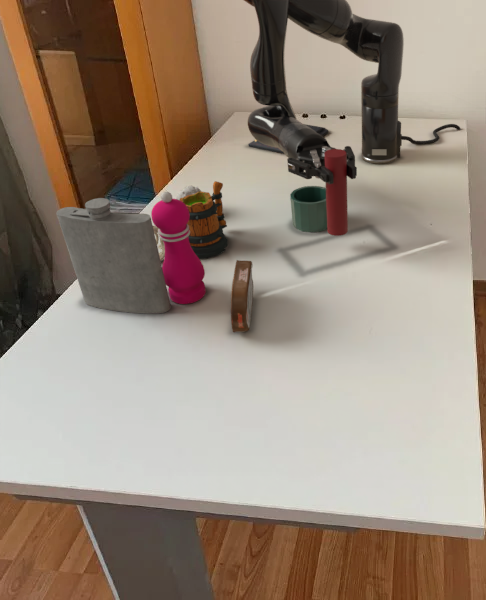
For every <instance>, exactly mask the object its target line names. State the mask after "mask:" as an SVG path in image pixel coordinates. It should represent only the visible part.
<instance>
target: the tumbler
mask: <svg viewBox="0 0 486 600" xmlns="http://www.w3.org/2000/svg"><path fill="white" fill-rule="evenodd" d="M289 197H290V208H291V221H292V226H293V227H294V229H295V230H298V231H299V232H304V233H319V232H323V231H327V207H326V187H324V186H319V185H318V186H317V185H306V186H301V187H297V188H296V189H294V190H292V191H291V193H290V195H289Z"/></svg>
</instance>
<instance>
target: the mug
mask: <svg viewBox="0 0 486 600" xmlns="http://www.w3.org/2000/svg"><path fill="white" fill-rule="evenodd" d="M223 187H224V184H223V182H220V181H215V180H214V182H213V184H212V195H211V193H210V192H206V191H202V190H201V191H199V192H197V193H195V194H191V195H188V196H185V197H183V198H180V201H182V202H183V203H184V204H185V205H186V206H187V208H188V210H189V214H190V218H189V221H188V223H187V224H188V225H189V230H190V234H189V236H188V238H189V243H190V246H191V248H192V250H193V251H194V253H195V254H196V255H197V257H198V258H199V259H200V260H206V259H212V258H214V257H217V256H219V255H221V254H223V253H225V251H226V248H227V247H228V243H229V240H228V238H227V237H226V235H225V233H224V230H223V229H225V228H228V225H227V221H226V219H225V218H226V217H225V214H224V213H223V210H224V208H223V200H222V198H223V193H222V192H221V191H222V189H223Z"/></svg>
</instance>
